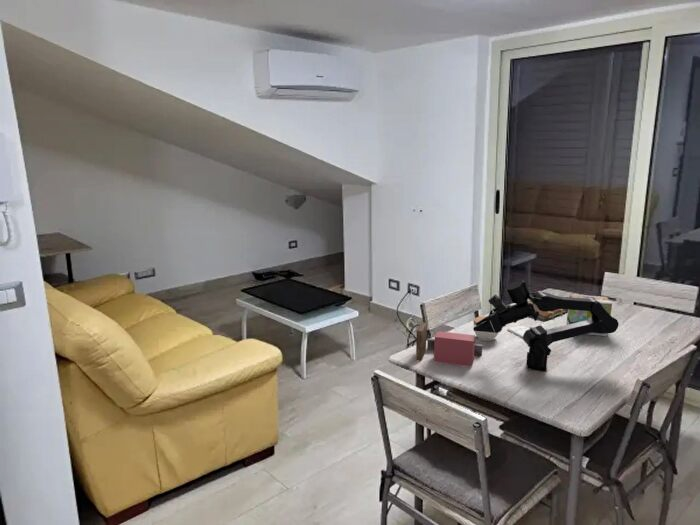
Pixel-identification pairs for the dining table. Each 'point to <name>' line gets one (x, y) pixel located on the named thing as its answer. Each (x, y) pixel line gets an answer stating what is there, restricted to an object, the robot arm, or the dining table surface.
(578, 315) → the tea box
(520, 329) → the external hard drive
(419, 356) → the bookend
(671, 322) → the dining table surface
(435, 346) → the pink rectangular block
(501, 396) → the dining table surface
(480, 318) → the lidded jar
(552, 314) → the book
